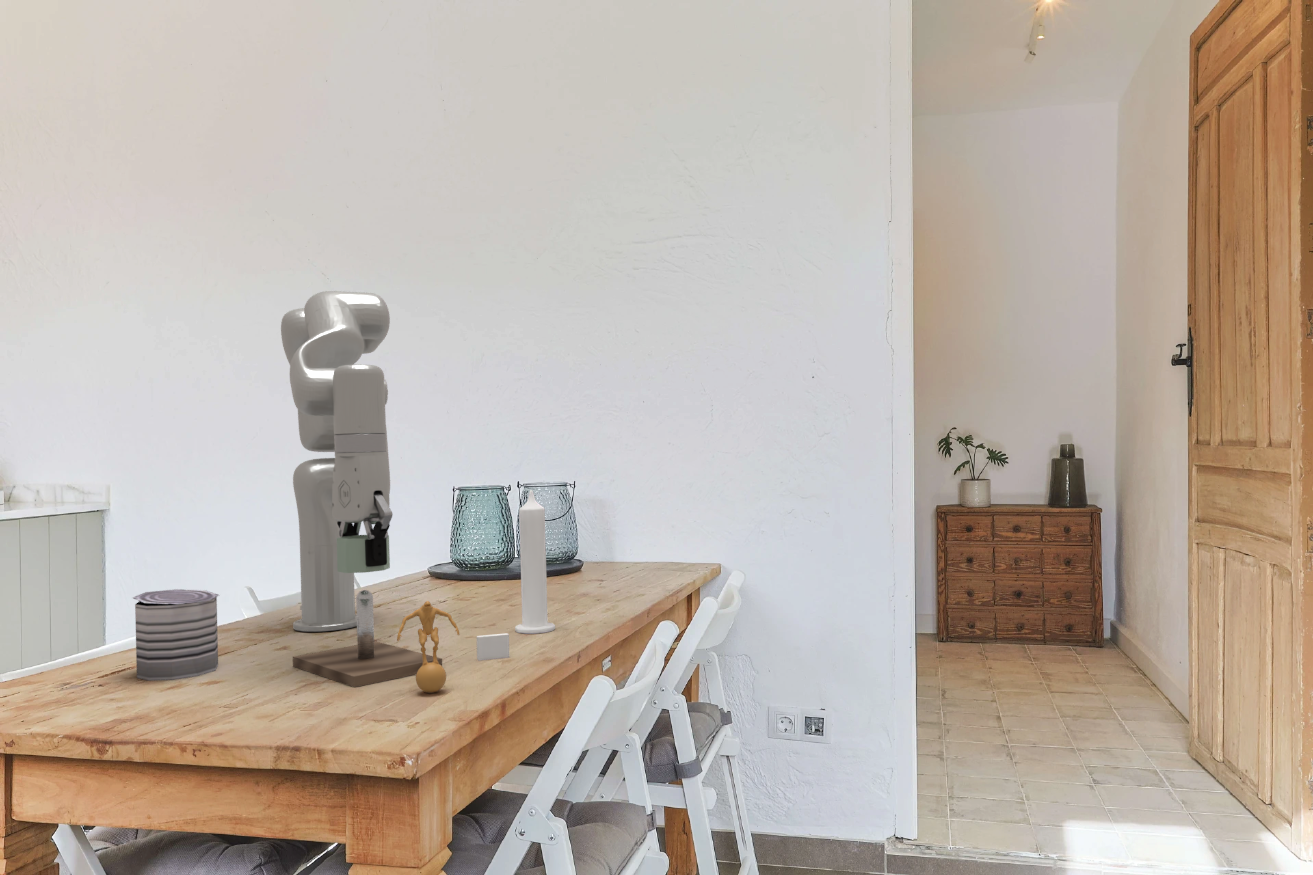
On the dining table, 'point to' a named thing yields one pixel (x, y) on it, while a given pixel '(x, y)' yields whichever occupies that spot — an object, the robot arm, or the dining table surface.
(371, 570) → the bead
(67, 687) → the dining table surface
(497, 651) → the eraser
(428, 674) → the figurine
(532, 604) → the candle
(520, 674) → the dining table surface
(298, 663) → the stand board
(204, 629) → the can
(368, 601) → the post
